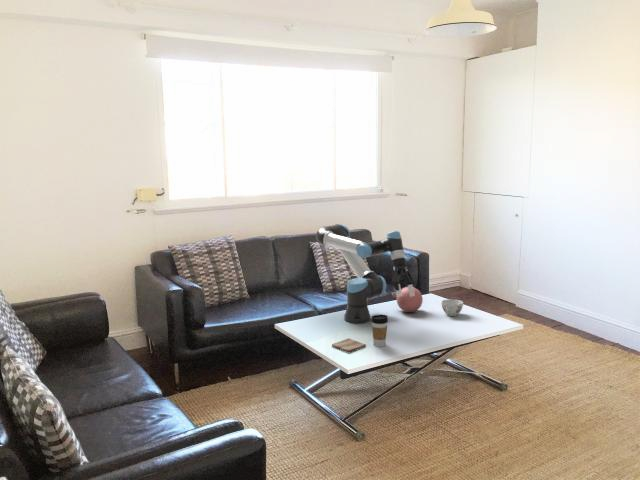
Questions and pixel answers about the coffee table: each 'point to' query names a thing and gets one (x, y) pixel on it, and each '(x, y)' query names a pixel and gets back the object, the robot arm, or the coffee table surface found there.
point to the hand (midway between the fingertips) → (406, 296)
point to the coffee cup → (379, 329)
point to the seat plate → (349, 345)
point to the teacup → (452, 307)
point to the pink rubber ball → (409, 300)
